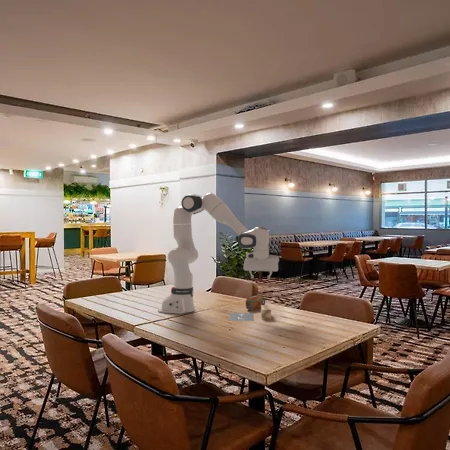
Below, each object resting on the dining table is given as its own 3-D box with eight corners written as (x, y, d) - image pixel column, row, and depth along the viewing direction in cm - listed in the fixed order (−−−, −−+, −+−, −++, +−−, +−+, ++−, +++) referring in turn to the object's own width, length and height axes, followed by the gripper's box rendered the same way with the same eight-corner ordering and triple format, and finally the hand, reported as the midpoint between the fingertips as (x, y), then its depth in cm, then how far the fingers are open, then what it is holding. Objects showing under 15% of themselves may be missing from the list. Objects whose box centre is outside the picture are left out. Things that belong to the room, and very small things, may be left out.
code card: (228, 320, 223) (228, 320, 223) (230, 313, 241) (230, 312, 241) (253, 321, 222) (253, 320, 222) (253, 313, 240) (253, 313, 240)
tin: (248, 311, 245) (248, 297, 245) (244, 310, 247) (244, 297, 247) (265, 308, 254) (265, 295, 254) (262, 307, 257) (262, 294, 257)
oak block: (261, 320, 225) (261, 309, 225) (260, 315, 237) (261, 305, 237) (270, 320, 224) (270, 309, 224) (269, 315, 236) (269, 305, 236)
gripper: (278, 254, 237) (278, 278, 237) (243, 253, 238) (243, 277, 238) (279, 255, 230) (278, 280, 231) (243, 254, 232) (243, 278, 232)
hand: (260, 278), depth 235 cm, fingers open, 8 cm apart
